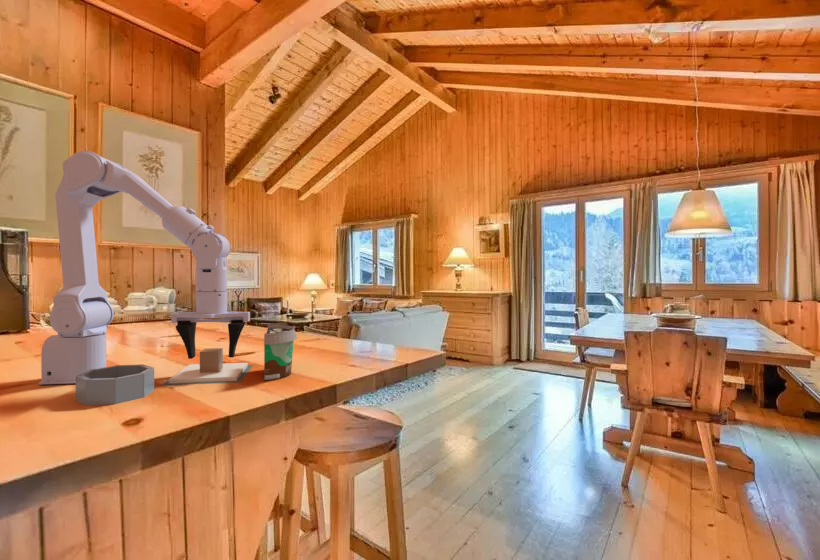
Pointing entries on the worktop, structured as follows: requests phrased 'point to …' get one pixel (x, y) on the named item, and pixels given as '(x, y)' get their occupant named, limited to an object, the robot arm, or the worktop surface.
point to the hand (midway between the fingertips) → (211, 357)
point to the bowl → (114, 384)
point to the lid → (210, 369)
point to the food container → (278, 352)
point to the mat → (214, 382)
